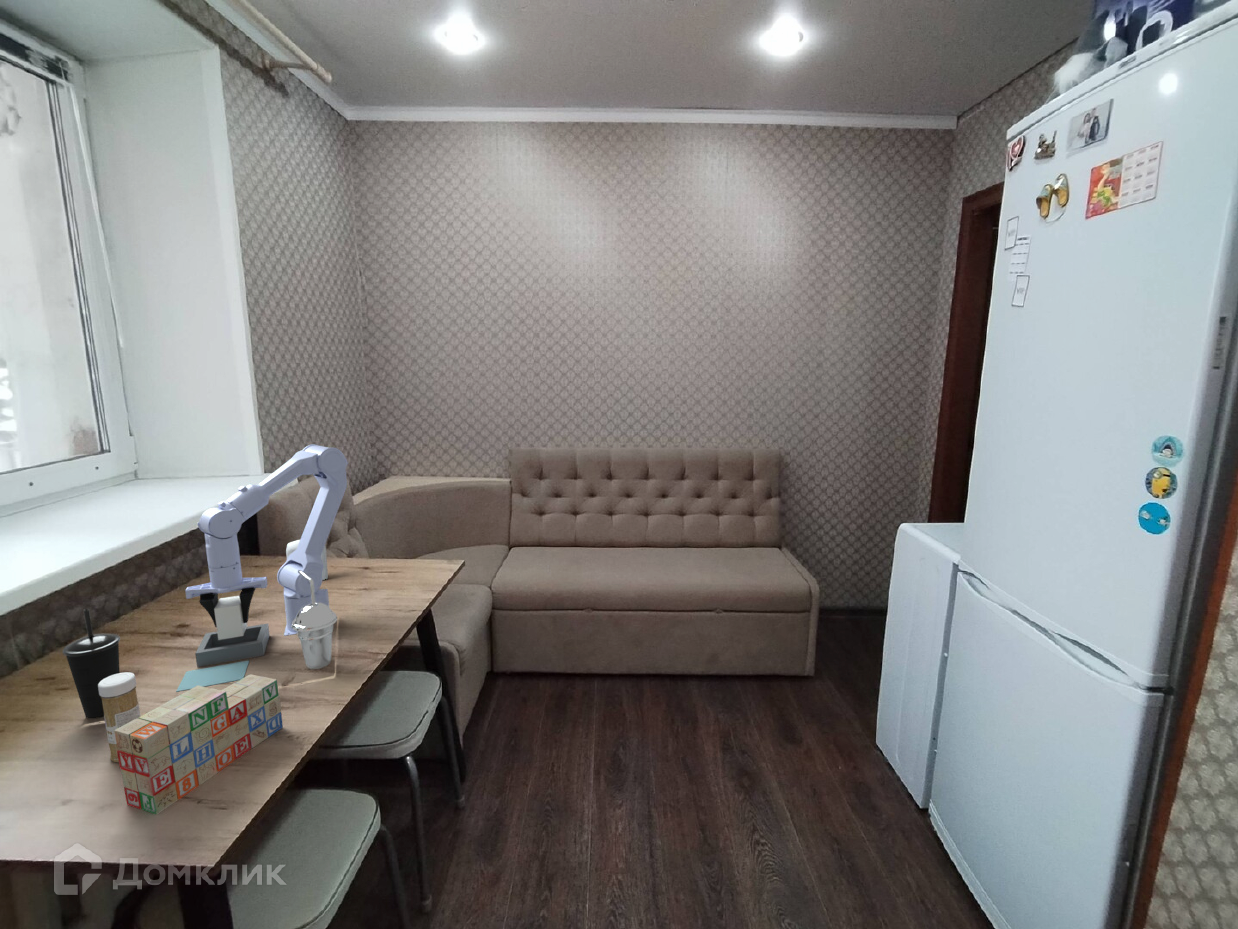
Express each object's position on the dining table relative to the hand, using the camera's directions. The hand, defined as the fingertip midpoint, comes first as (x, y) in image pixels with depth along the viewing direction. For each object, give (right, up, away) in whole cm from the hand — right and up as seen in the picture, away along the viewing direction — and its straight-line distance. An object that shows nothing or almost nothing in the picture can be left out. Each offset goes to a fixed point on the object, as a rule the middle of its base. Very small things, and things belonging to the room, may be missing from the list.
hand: (232, 623), depth 128 cm
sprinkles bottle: (+4, -13, -32) cm, 35 cm away
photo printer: (-6, +1, +43) cm, 44 cm away
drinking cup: (-10, -11, -21) cm, 25 cm away
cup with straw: (+21, -8, -4) cm, 23 cm away
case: (0, -7, +1) cm, 7 cm away
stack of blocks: (+19, -14, -34) cm, 41 cm away
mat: (+2, -9, -9) cm, 13 cm away
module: (0, -2, 0) cm, 2 cm away
